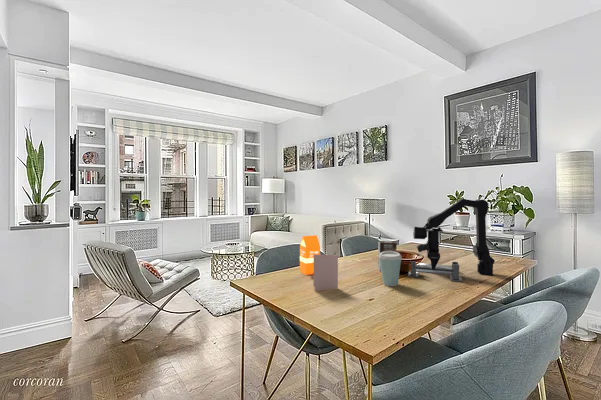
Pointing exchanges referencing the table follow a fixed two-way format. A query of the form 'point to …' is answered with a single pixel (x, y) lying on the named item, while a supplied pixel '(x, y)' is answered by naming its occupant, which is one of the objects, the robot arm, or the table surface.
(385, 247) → the coffee box
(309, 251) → the orange juice
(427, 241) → the robot arm
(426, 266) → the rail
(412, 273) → the dark grey notched cradle
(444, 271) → the grey plate
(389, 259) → the disposable coffee cup
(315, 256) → the greeting card
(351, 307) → the table surface
